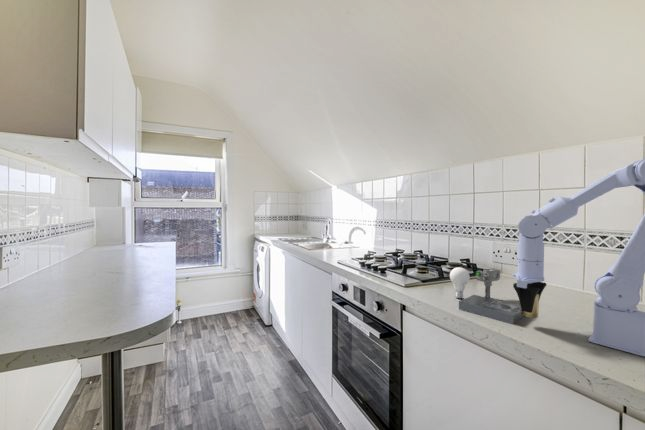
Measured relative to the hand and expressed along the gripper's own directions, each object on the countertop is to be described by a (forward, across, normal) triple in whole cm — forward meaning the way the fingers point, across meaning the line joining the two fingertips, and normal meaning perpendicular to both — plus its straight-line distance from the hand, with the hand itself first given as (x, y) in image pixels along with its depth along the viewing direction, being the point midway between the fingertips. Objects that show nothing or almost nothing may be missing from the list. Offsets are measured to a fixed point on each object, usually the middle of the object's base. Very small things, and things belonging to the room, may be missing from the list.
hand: (529, 309), depth 78 cm
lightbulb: (+5, -9, -23) cm, 25 cm away
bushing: (+2, 0, 0) cm, 2 cm away
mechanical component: (+5, -18, -17) cm, 25 cm away
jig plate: (+4, -4, -11) cm, 12 cm away
